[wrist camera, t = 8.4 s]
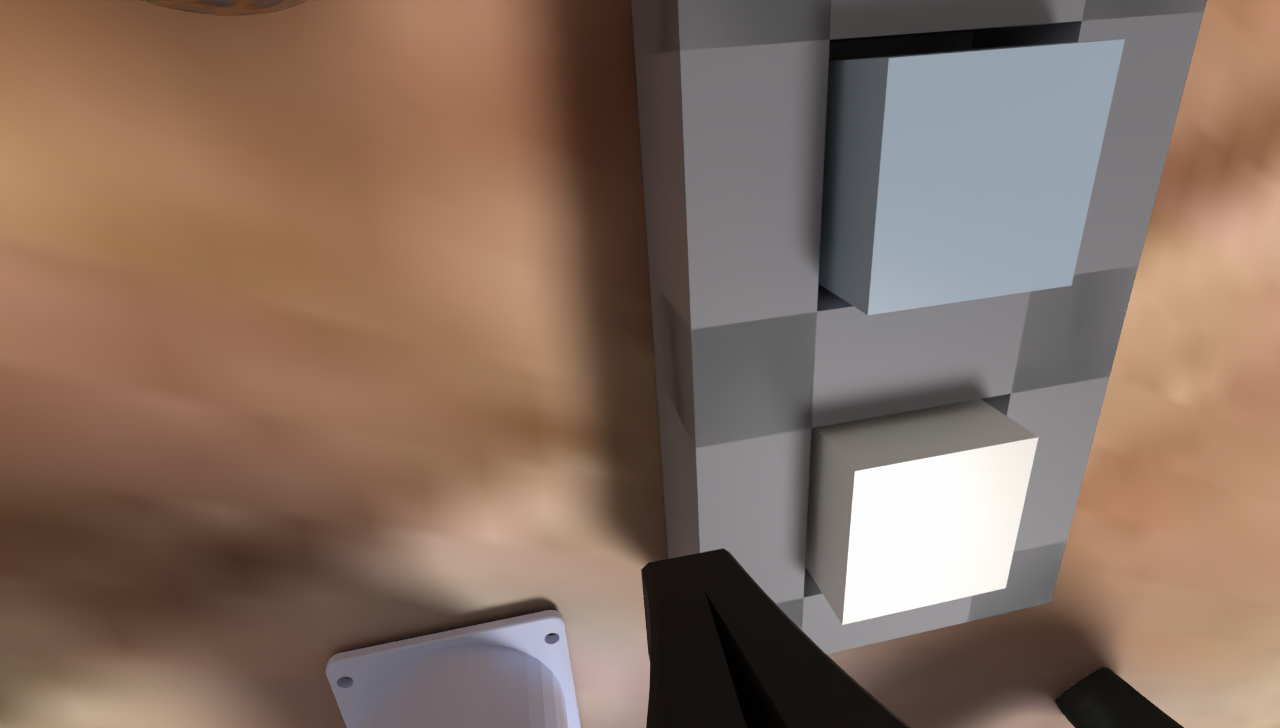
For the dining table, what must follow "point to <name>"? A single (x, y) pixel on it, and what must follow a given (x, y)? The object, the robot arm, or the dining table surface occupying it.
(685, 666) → the robot arm
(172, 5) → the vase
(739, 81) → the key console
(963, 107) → the slate key
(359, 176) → the dining table surface
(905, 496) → the white block
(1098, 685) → the ceramic cat
